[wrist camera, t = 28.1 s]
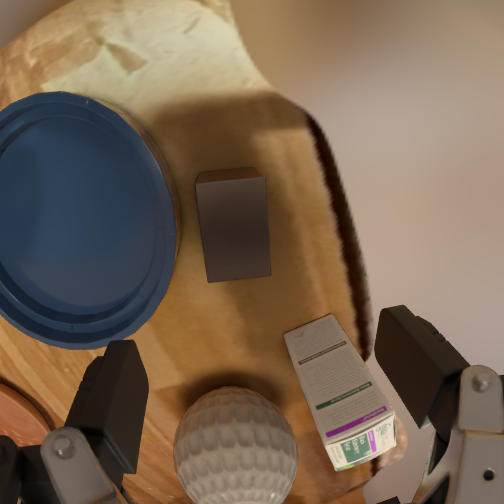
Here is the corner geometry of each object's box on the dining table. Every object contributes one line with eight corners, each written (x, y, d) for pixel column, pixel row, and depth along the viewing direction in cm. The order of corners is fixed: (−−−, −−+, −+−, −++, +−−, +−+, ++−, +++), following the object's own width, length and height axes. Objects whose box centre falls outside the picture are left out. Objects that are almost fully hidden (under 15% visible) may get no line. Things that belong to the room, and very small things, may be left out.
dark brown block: (199, 172, 25) (194, 183, 19) (254, 166, 25) (265, 176, 20) (208, 252, 27) (207, 283, 22) (259, 246, 28) (271, 276, 22)
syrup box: (280, 333, 31) (319, 449, 18) (333, 310, 31) (397, 414, 18) (296, 368, 34) (333, 475, 20) (344, 348, 33) (399, 446, 20)
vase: (278, 428, 38) (304, 534, 22) (183, 433, 36) (183, 542, 21) (287, 361, 33) (329, 493, 18) (169, 366, 32) (156, 505, 16)
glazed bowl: (-34, 134, 20) (-58, 138, 16) (167, 71, 21) (158, 60, 18) (16, 328, 28) (0, 347, 24) (198, 319, 30) (196, 344, 26)
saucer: (0, 428, 35) (-5, 440, 32) (-39, 363, 29) (-47, 374, 26) (70, 448, 37) (66, 462, 34) (34, 382, 31) (26, 397, 28)
